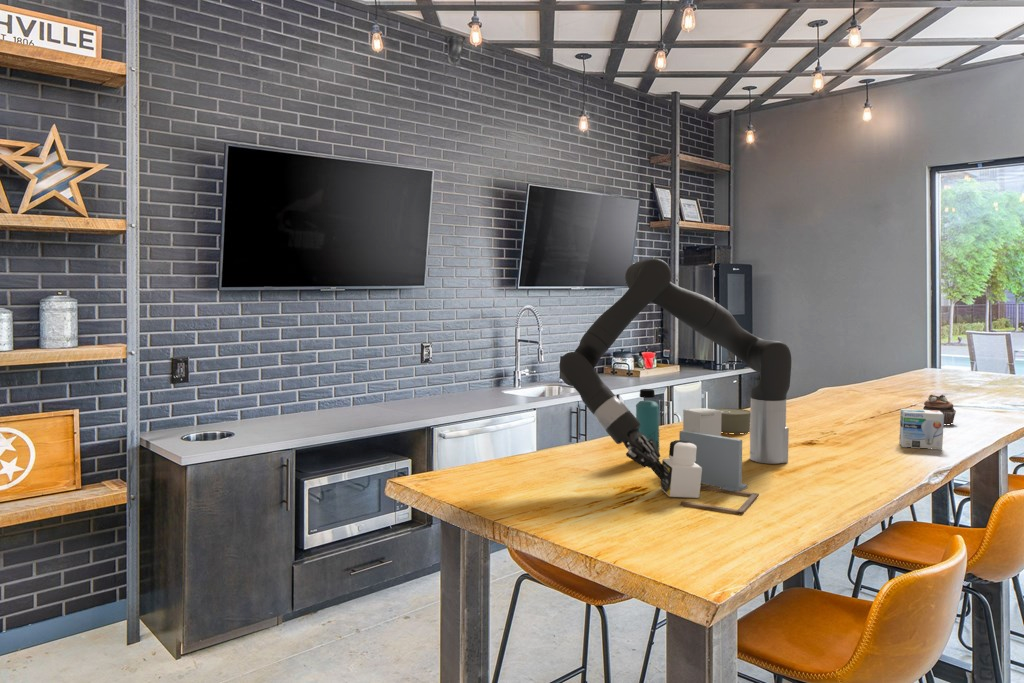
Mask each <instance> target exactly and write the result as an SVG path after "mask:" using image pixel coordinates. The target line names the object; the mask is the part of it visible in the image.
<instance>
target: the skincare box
mask: <svg viewBox="0 0 1024 683" xmlns="http://www.w3.org/2000/svg"><path fill="white" fill-rule="evenodd" d="M682 412H683V415H682V416H683V417H682V418H683V421H682V422H683V425H682V428H683V429H682V430H684V431H690V432H697V433H703V434H709V435H716V436H722V434H721V415H722V411H720V410H715V409H713V408H707V407H703V408H700V407H699V408H686V409H685V408H684V409H683V410H682Z"/></svg>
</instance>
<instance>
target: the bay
mask: <svg viewBox="0 0 1024 683" xmlns="http://www.w3.org/2000/svg"><path fill="white" fill-rule="evenodd" d="M701 490H702V491H707V490H708V492H709V491H710V492H714V491H716V492H715V493H721V492H723V493H722V494H729V493H730V494H731V495H736V494H737V495H736V496H743V495H744V497H748V498H747V499H746V500H745V502H744V503H743V504H741V506H740V507H739V508H738V509H736V508H730V507H729V508H728V507H723V506H716V505H711V504H710V505H709V504H703V503H696V502H689V501H685V500H684V501H680V504H679V505H680V506H683V507H689V508H695V509H703V510H707V509H708V511H715V512H721V513H726V514H727V513H728V514H734V515H739V514H740V516H743V515H744V514H745V513H746V512H747V510H749V508H750V507H751V506H752V505H753V504H754V502H756V500H757V499H758V498H759V497H760V494H759V493H756V492H750V491H744V490H741V491H736V490H735V491H728V490H724V489H721V488H720V487H715V486H708V485H700V491H701ZM730 494H729V495H730ZM758 496H759V497H758ZM757 497H758V498H757ZM751 504H752V505H751ZM744 512H745V513H744Z"/></svg>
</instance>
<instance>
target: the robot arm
mask: <svg viewBox="0 0 1024 683" xmlns="http://www.w3.org/2000/svg"><path fill="white" fill-rule="evenodd" d="M624 279H625V284H626V286H627V287H628V290H626V292H625V293H624V294H623V295H622V296H621V297H620V298H619V299H618V300H617V301H616V302H615V303H614V304H612V305H611V306H610V307H609V308H608V309H607V310H605V311H604V312H603V313H602V314H601V315H599V317H598V318H597V319H596V320H595V321H594V322H593V323H592V324H591V326H589V328H588V329H587V331H586V332H585V333H584V334H583V336H582V337H581V339H580V341H579V344H578V346H577V348H576V349H575V350H574V351H570V352H566V353H565V354H563V356H562V357H561V358H560V361H559V374H560V378H561V380H562V382H564V384H566V385H568V386H570V387H573V388H574V389H575V390H576V391H577V393H578V394H579V396H580V398H581V401H582V402H583V403H584V405H585V406H586V408H587V409H588V410H589V411H590V412H591V413H592V415H594V417H595V418H596V420H597V422H598V424H599V425H600V426H601V427H602V428H603V429H604V431H605V432H606V434H608V435H609V437H610V438H611V439H612V440H613V441H614V443H615V444H617V445H621V444H622V443H623V445H624V446H625V448H626V449H627V450H628V451H627V452H626V453H625V455H626V457H627V458H629V459H630V460H632V461H633V462H634V463H636V464H638V465H640V466H641V467H643V468H648V469H651V470H652V472H653V473H654V474H655V475H656V476H657V477H658V479H659V480H660V481H661V480H662V479H663V475H664V469H663V466H662V462H661V461H660V457H661V454H660V452H659V451H660V450H659V451H658V449H657V447H656V444H655V442H654V440H653V439H652V438H650V439H649V440H648V439H647V438H646V437H645V436H644V435H643V434H642V433H641V432H639V430H638V429H639V428H640V426H641V423H640V422H639V421H638V420H637V419H636V415H634V414H633V412H632V411H631V410H630V409H629V408H628V407H627V406H626V404H624V402H623V401H622V400H621V399H619V398H618V397H617V396H616V395H615V394H614V393H613V391H612V389H610V388H609V387H608V386H607V384H606V383H604V381H603V380H602V379H601V377H600V375H599V374H598V373H597V371H596V369H595V368H596V367H597V365H598V363H599V362H600V359H601V358H602V357H603V356H604V355H605V354H606V353H607V351H608V350H609V349H610V348H611V346H612V345H613V344H614V343H615V342H616V341H617V339H618V337H620V335H621V334H622V333H623V332H624V331H625V329H626V328H627V327H628V326H629V325H630V324H631V323H632V321H634V319H635V318H636V317H637V316H638V315H639V314H640V313H642V311H643V310H644V309H645V308H646V307H647V306H648V305H649V304H650V303H652V304H655V305H656V306H658V307H660V308H661V309H663V310H665V311H666V312H668V313H669V314H671V315H672V316H674V318H676V319H678V320H679V321H680V322H682V323H684V324H685V325H687V326H688V327H689V328H691V329H692V330H694V331H695V332H697V333H698V334H700V335H702V336H703V337H704V338H706V339H708V340H709V341H711V342H712V343H715V344H716V345H718V346H720V347H722V348H723V349H725V350H727V351H729V352H731V354H733V356H735V357H736V358H737V359H739V360H740V361H741V362H742V363H744V364H745V365H746V366H747V367H748V368H749V369H751V370H753V371H754V372H757V373H760V375H759V382H758V384H756V385H754V386H752V388H751V389H750V410H749V411H750V433H749V459H750V461H752V462H756V463H759V464H770V465H771V464H773V465H774V464H775V465H776V464H778V465H779V464H784V463H789V437H790V436H789V433H790V432H789V430H790V429H789V427H788V426H787V394H788V392H789V389H790V386H791V376H792V355H791V349H790V348H789V346H788V344H786V343H784V342H782V341H779V340H772V339H771V340H770V339H763V338H760V337H758V336H757V335H755V334H752V333H751V332H749V331H748V330H745V329H744V328H743V327H742V326H741V325H740V324H739V322H738V321H737V320H736V318H735V317H734V316H733V314H732V313H731V312H730V311H729V310H728V309H727V308H725V307H724V306H722V305H721V304H720V303H718V302H716V301H715V300H713V299H711V298H709V297H707V296H706V295H703V294H701V293H699V292H695V291H693V290H689V289H687V288H684V287H681V286H678V285H677V284H675V283H673V282H672V270H671V267H670V266H669V264H668V263H667V262H666V261H665V260H663V259H660V258H647V259H644V260H640V261H637V262H634V263H632V264H631V265H629V266H628V268H627V270H626V271H625V276H624Z"/></svg>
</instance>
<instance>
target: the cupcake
mask: <svg viewBox="0 0 1024 683" xmlns="http://www.w3.org/2000/svg"><path fill="white" fill-rule="evenodd" d="M927 399H928V400H925V401H924V403H923V404H924V406H923V409H922V410H937V411H940V412H942V413H943V414H944V424H951V423H953V424H954V419H955V416H956V412H957V410H956V409H955V408H954V404H953V403H952V402H951V401H949V400H948V399H947V397H946V395H944V394H940V395H938V396H937V395H934V394H930V395H929V396H928V398H927Z"/></svg>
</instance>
